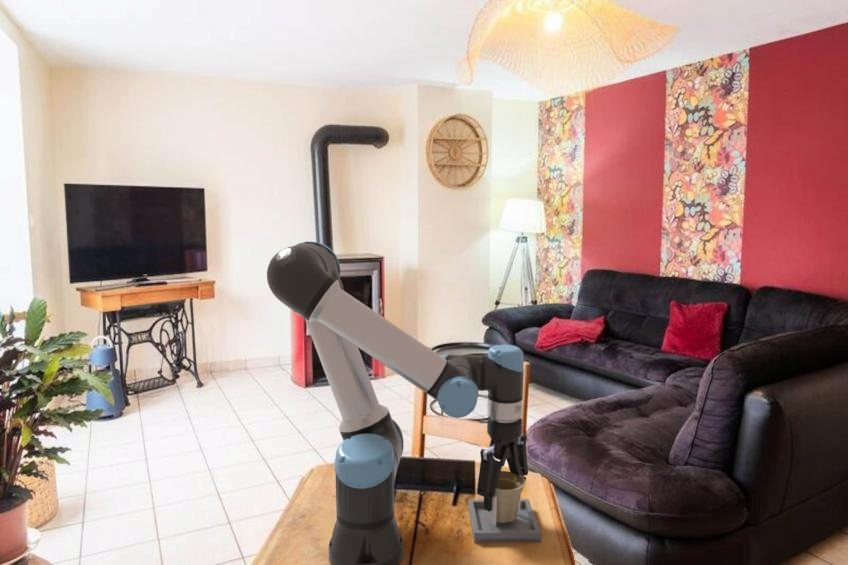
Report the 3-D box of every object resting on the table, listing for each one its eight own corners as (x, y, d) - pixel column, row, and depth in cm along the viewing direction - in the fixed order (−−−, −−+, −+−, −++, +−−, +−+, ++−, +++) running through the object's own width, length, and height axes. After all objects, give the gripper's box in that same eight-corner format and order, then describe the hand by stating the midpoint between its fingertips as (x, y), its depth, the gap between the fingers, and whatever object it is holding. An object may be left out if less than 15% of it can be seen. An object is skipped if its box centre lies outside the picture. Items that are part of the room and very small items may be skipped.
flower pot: (523, 506, 139) (524, 471, 138) (525, 529, 130) (526, 491, 129) (481, 504, 140) (482, 469, 139) (481, 526, 131) (482, 488, 130)
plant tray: (474, 542, 128) (474, 532, 128) (468, 508, 142) (468, 499, 142) (540, 542, 128) (540, 532, 128) (528, 508, 142) (528, 499, 142)
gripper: (488, 435, 122) (486, 540, 125) (546, 409, 136) (543, 504, 140) (459, 425, 127) (458, 527, 130) (518, 401, 142) (516, 492, 145)
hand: (502, 515), depth 135 cm, fingers closed on flower pot, 8 cm apart
